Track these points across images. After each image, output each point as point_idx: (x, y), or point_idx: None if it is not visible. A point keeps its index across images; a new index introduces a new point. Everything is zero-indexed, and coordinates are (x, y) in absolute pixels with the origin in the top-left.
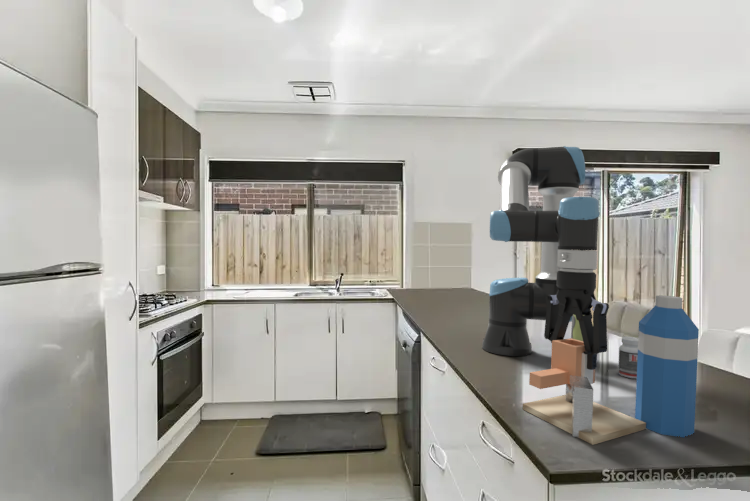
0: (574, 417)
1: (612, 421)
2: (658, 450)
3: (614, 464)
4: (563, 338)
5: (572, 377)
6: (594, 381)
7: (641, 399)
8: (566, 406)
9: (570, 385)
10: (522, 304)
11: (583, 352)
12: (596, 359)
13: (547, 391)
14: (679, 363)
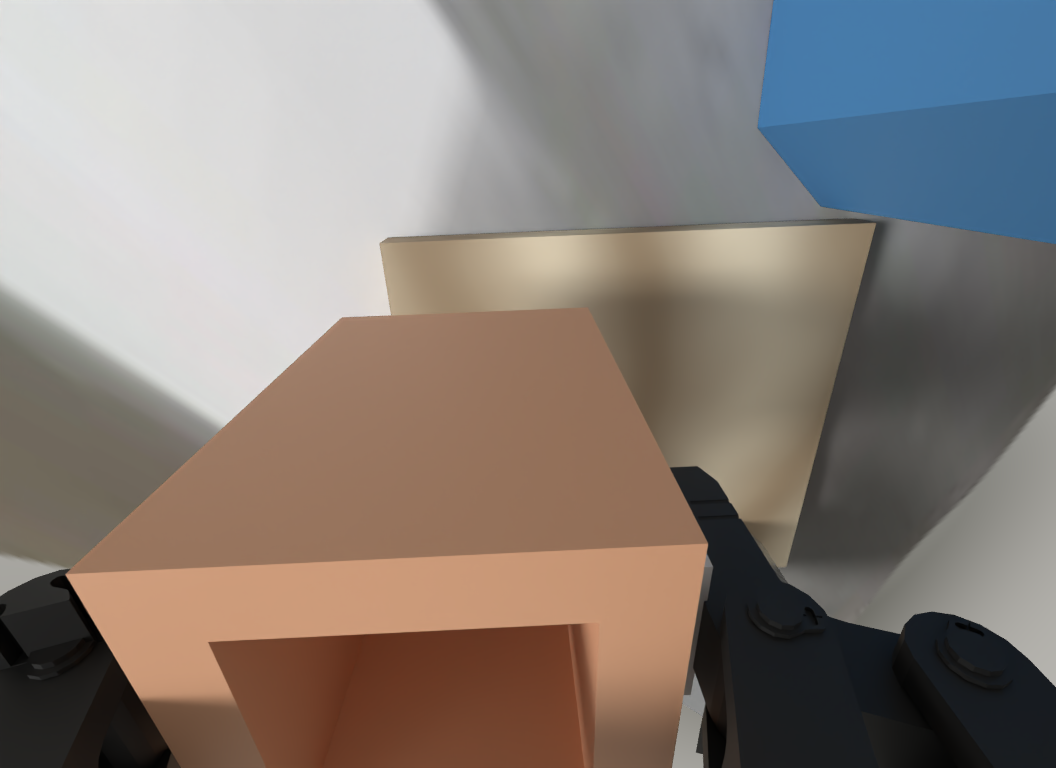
0: None
1: (757, 380)
2: (953, 374)
3: (872, 579)
4: (96, 703)
5: (696, 701)
6: (590, 313)
7: (937, 220)
8: None
9: None
10: None
11: (699, 740)
12: (753, 545)
13: (243, 289)
14: None
